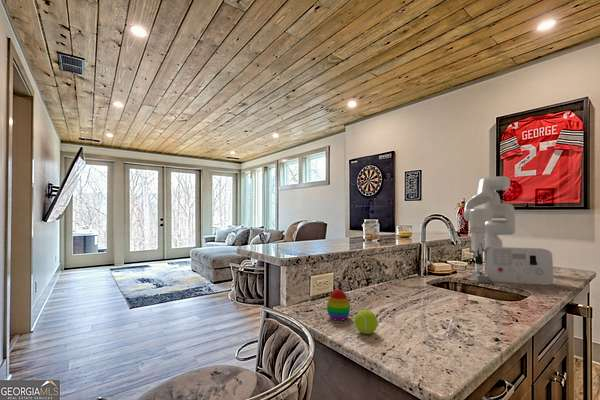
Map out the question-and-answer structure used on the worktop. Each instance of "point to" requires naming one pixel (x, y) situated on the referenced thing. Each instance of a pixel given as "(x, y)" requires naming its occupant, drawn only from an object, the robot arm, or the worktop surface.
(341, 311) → the decorative egg
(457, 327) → the worktop surface
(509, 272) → the rounded white slab
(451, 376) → the worktop surface
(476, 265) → the breaker handle
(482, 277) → the breaker block
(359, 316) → the tennis ball
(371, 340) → the worktop surface
